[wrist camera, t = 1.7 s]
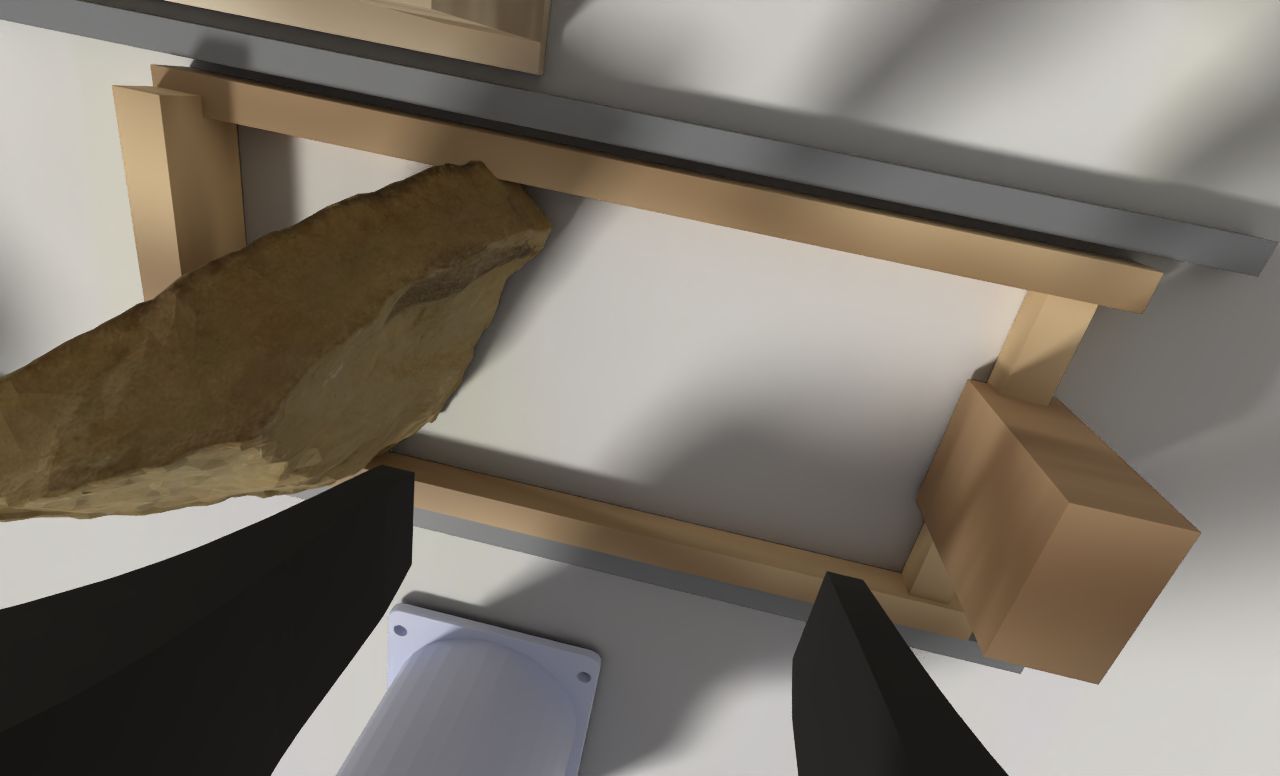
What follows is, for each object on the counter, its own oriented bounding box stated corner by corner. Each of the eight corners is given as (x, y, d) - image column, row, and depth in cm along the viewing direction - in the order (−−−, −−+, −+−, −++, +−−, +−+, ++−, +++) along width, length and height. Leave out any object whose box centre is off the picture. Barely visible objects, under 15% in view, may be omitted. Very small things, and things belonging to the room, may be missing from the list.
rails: (1010, 654, 21) (1020, 673, 20) (-27, 403, 23) (-51, 412, 23) (1433, -75, 13) (1474, -86, 12) (-246, -363, 15) (-297, -388, 14)
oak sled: (955, 613, 21) (1034, 800, 15) (226, 437, 22) (52, 550, 17) (1135, 261, 16) (1349, 347, 10) (187, 67, 17) (-78, 48, 12)
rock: (462, 12, 13) (53, 154, 15) (472, 352, 9) (-110, 512, 10) (606, 310, 23) (348, 381, 24) (645, 549, 18) (327, 621, 20)
